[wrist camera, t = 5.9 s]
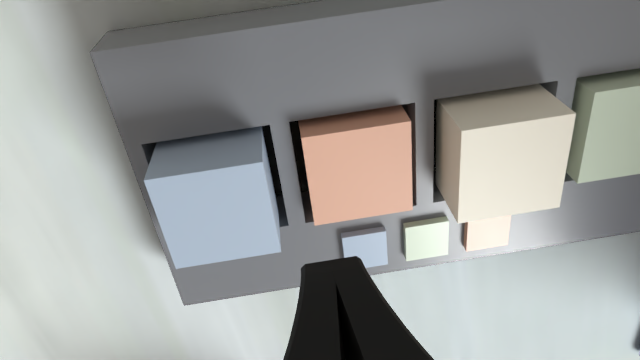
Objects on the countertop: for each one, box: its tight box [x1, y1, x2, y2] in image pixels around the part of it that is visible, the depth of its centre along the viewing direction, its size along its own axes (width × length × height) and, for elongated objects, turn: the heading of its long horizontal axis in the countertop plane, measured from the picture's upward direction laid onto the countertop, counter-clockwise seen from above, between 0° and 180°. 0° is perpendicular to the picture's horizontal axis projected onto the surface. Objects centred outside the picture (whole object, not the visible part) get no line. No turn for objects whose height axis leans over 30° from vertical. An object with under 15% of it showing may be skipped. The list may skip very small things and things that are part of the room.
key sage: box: [566, 68, 640, 184], centre depth 18 cm, size 3×3×2 cm
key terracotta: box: [298, 105, 413, 226], centre depth 17 cm, size 3×3×2 cm
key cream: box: [436, 84, 576, 224], centre depth 17 cm, size 3×3×2 cm
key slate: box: [144, 126, 281, 269], centre depth 16 cm, size 3×3×2 cm
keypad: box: [90, 0, 640, 306], centre depth 18 cm, size 19×10×2 cm, turn 97°
